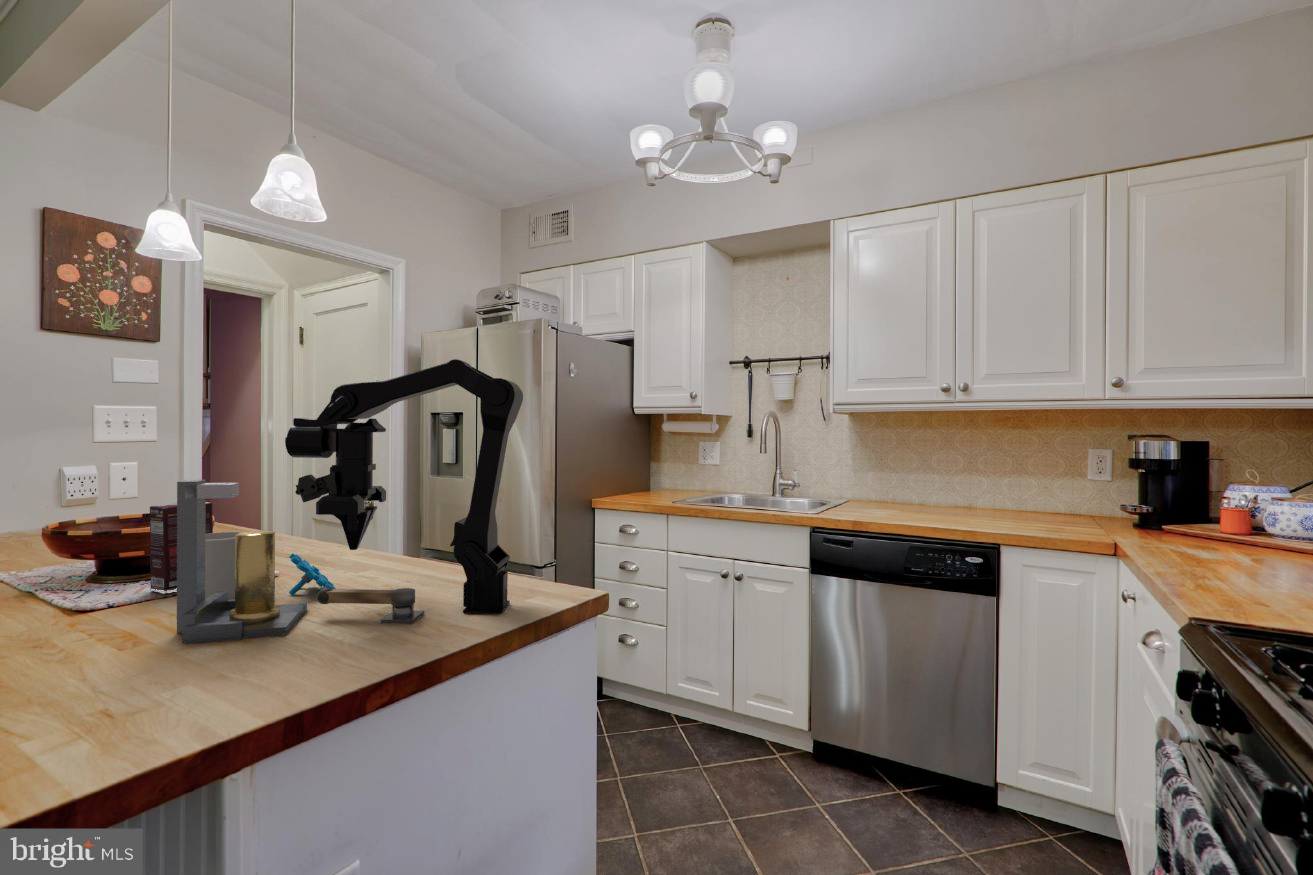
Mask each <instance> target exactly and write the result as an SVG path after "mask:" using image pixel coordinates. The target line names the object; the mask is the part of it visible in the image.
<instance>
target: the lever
mask: <svg viewBox="0 0 1313 875" xmlns="http://www.w3.org/2000/svg"><path fill="white" fill-rule="evenodd" d="M316 598H317V601H318V603H320V604H322V605H329V604H357V605H358V604H359V605H360V604H363V605H365V604H366V605H369V604H370V605H371V604H372V605H374V604H375V605H391V606H398V607H401V606H409V605H412V604H414V605H415V603H416V589H414V588H412V587H411V588H410V587H404V588H403V587H402V588H396V589H359V588H358V589H355V588H354V589H353V588H344V589H343V588H336V589H331V588H324V587H323V588H321V589H320V590H319V591H318V592H317V595H316Z"/></svg>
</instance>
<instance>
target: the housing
mask: <svg viewBox="0 0 1313 875" xmlns="http://www.w3.org/2000/svg"><path fill="white" fill-rule="evenodd" d="M275 542H276V532H275V531H273V530H272V531H271V530H253V531H244V532H243V533H238V534H236V535H235V609H233V610H231V611H230V612H229V621H245V624H249V623H257V622H263V621H267V620H271V619H274V618H276V617H278V616H279V615H280V606H279V605H280V604H276V597H275V596H276V594H275V592H276V590H275V589H276V586H275V585H276V582H275V580H276V572H275V571H276V543H275Z"/></svg>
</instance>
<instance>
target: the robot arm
mask: <svg viewBox="0 0 1313 875" xmlns="http://www.w3.org/2000/svg"><path fill="white" fill-rule="evenodd" d="M455 386H458V387H459V386H460V388H462V389H464V390H466V391H467V392H468V393H470V394H472V395H474V396H475V397H477V398H479V399H480V403H479V404H480V417H481V423H482V424H481V425H482V436H481V441H480V448H479V452H478V453H479V454H478V459H477V464H476V470H475V476H474V482H473V487H472V493H471V499H470V504H469V510H468V513H467V515H466V517H464V518H461V519H459V520H457V521H454V525H453V526H454V527H453V539H452V542H451V543H450V545H449V546H450V547H453V557H454V559H456V561H457V562H458V564H460V565H461V566H462V569H463V572H464V575H465V577H466V581H465V582H464V583H463V589H462V592H463V595H462V596H463V599H462V600H463V603H462V604H463V606H462V607H463V608H464V609H463V610H462V613H464V614H488V615H489V614H491V615H493V614H496V615H499V614H502V613H503V612H504V611H505V610H506V609H507V607H508V606H509V605H510V604H511V600H509V599H508V576H509V574H508V572H509V571H508V570H504V569H506V568H507V567H508V565H509V562H510V559H511V556H510V555H509V553H507V552H506V551H505V550H504V549H503V548H502V546H500V545H499V543H498V538H499V537H498V524H497V517H496V508H497V503H498V502H497V501H498V496H499V493H500V492H499V491H500V485H501V479H502V474H503V468H504V462H505V457H506V450H507V447H508V446H507V445H508V439H509V435H510V431H511V430H512V428H513V426H514V424H515V422H516V420H517V418H518V415H519V412H520V409H521V407H522V404H523V400H524V394H523V391H522V389H521V388H520V386H519V385H518V384H517V383H516V382H514V381H510V380H507V379H505V378H501V377H492V375H489V374H486V373H485V372H483V371H481V370H479V369H477V368H476V367H474V366H472V365H471V364H470V363H468V362H467V361H464V360H460V359H457V358H456V359H451V360H449V361H447V362H445V363H442V364H437V365H434V366H431V367H428V368H424V369H421V370H417V371H414V372H411V373H406V374H403V375H400V376H397V377H393V378H390V379H386V380H380V381H368V382H367V381H366V382H356V383H355V382H354V383H344V384H341V385H338V386H337V387H335V388H334V389H333V391H332V394H331V395H330V400H329V403H328V404H327V405H326V407H325V408H323V410H322V411H321V413H320V414H319V415H318V417H316V419H311V418H303V417H294V418H293V419H292V420H293V421H292V422H293V423H292V425H291V426H290V427H289V429H288V431H287V434H286V437H284V439H285V440H284V441H285V442H284V444H285V449H286V452H287V454H288V455H289V456H290V457H291V458H299V459H300V458H309V459H311V458H312V459H315V458H316V459H328V458H331V457H332V456H333V454H334V453H335V464H331V466H330V467H329V474H326V475H324V476H320V477H317V478H316V477H315V476H314V475H313V474H307V475H303V476H301V477H298V480H297V484H295V487H296V489H295V494H296V495H298V496H300V498H301V501H302V503H307V502H311V501H313V500H316V499H318V500H317V501H316V502H315V515H322V516H323V515H324V516H325V515H328V516H329V515H331V516H334V517H335V518H336V519H338V521H339V522H340V523H341V526H342V528H343V532H344V536H345V538H346V539H345V540H346V542H347V545H348V548H349V550H350V551H356V550H358V549H359V547H360V545H361V542H362V540H363V538H364V536H365V534H366V531H367V530H368V528H369V525H370V524H371V521H372V518H373V517H374V515H375V513H376V510H377V509H378V506H376V505H375V506H374V505H371V506H370V502H371V501H372V502H373V501H374V502H375V501H378V502H379V503H384V502H386V501H387V490H386V489H385V488H384V487H383V486H382V485H373V482H374V481H373V479H374V478H373V476H374V474H373V471H376V470H377V469H376V468H377V465H376V464H377V463H374V462H373V461H374V456H373V455H374V450H373V449H374V433H385V432H386V431H387V428H385V427H384V426H383V425H382V424H381V423H380V422H379V421H378V419H377V418H372V417H373V416H376V415H378V414H380V413H382V412H384V411H386V410H387V409H388V408H391V406H393V405H395V404H397V403H399V402H402V401H406V400H410V399H412V398H416V397H417V398H418V397H420V396H423V395H424V396H425V395H428V394H431V393H434V392H437V391H441V390H444V389H447V388H450V387H455ZM358 420H366V421H365V422H357V421H358ZM338 425H346V426H345V427H344V428H338Z"/></svg>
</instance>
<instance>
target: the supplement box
mask: <svg viewBox="0 0 1313 875" xmlns="http://www.w3.org/2000/svg"><path fill="white" fill-rule="evenodd" d="M213 518H214V517H213V502H210V501H206V508H205V534H209V533H214V530H213V524H214V523H213V522H214V521H213ZM149 545H150V546H149V551H150V553H149V554H150V555H149V559H150V567H149V568H150V570H149V571H150V572H149V573H150V578H149V579H150V590H151V589H155V590H156V589H157V590H164V591H167V590H174V589H176V588H177V503H171V504H161V505H151V506H149Z"/></svg>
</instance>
